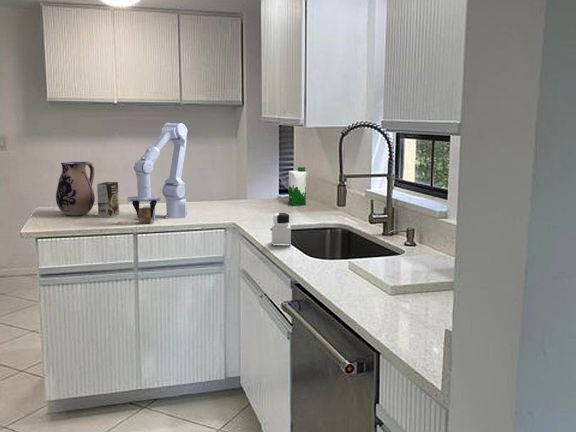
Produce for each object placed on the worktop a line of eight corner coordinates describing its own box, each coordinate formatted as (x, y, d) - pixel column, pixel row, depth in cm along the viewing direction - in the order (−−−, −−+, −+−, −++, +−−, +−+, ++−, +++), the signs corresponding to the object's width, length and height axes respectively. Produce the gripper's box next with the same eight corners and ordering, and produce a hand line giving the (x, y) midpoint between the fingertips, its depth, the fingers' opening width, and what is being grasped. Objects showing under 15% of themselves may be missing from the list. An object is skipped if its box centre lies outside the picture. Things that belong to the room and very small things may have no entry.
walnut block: (151, 220, 267) (151, 207, 266) (150, 223, 262) (149, 209, 261) (140, 221, 267) (140, 207, 266) (138, 223, 262) (138, 210, 261)
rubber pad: (154, 221, 268) (154, 221, 268) (152, 225, 262) (152, 224, 262) (138, 222, 268) (138, 221, 268) (136, 225, 261) (136, 224, 261)
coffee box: (110, 218, 276) (109, 184, 272) (98, 218, 277) (96, 183, 274) (120, 215, 284) (118, 181, 281) (107, 214, 286) (106, 181, 283)
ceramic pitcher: (49, 216, 280) (45, 163, 275) (77, 209, 299) (74, 159, 295) (80, 218, 274) (77, 165, 270) (107, 211, 294) (104, 161, 290)
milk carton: (307, 205, 315) (308, 168, 311) (291, 206, 312) (291, 168, 308) (302, 203, 323) (302, 166, 319) (286, 203, 320) (286, 166, 317)
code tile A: (137, 221, 269) (137, 220, 269) (134, 225, 261) (134, 224, 261) (119, 221, 268) (119, 220, 268) (115, 225, 261) (115, 224, 261)
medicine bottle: (290, 241, 232) (290, 211, 229) (290, 246, 225) (291, 215, 222) (271, 241, 231) (271, 211, 229) (271, 246, 224) (272, 215, 222)
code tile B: (159, 218, 277) (159, 217, 277) (156, 221, 270) (156, 220, 269) (141, 218, 277) (141, 217, 277) (139, 221, 269) (139, 220, 269)
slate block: (155, 218, 276) (154, 205, 275) (154, 220, 271) (153, 207, 270) (144, 218, 275) (144, 205, 274) (142, 220, 270) (142, 207, 269)
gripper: (125, 188, 257) (127, 219, 260) (159, 188, 258) (160, 218, 261) (128, 186, 264) (129, 216, 267) (161, 186, 265) (162, 215, 268)
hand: (145, 217), depth 264 cm, fingers closed on walnut block, 5 cm apart
